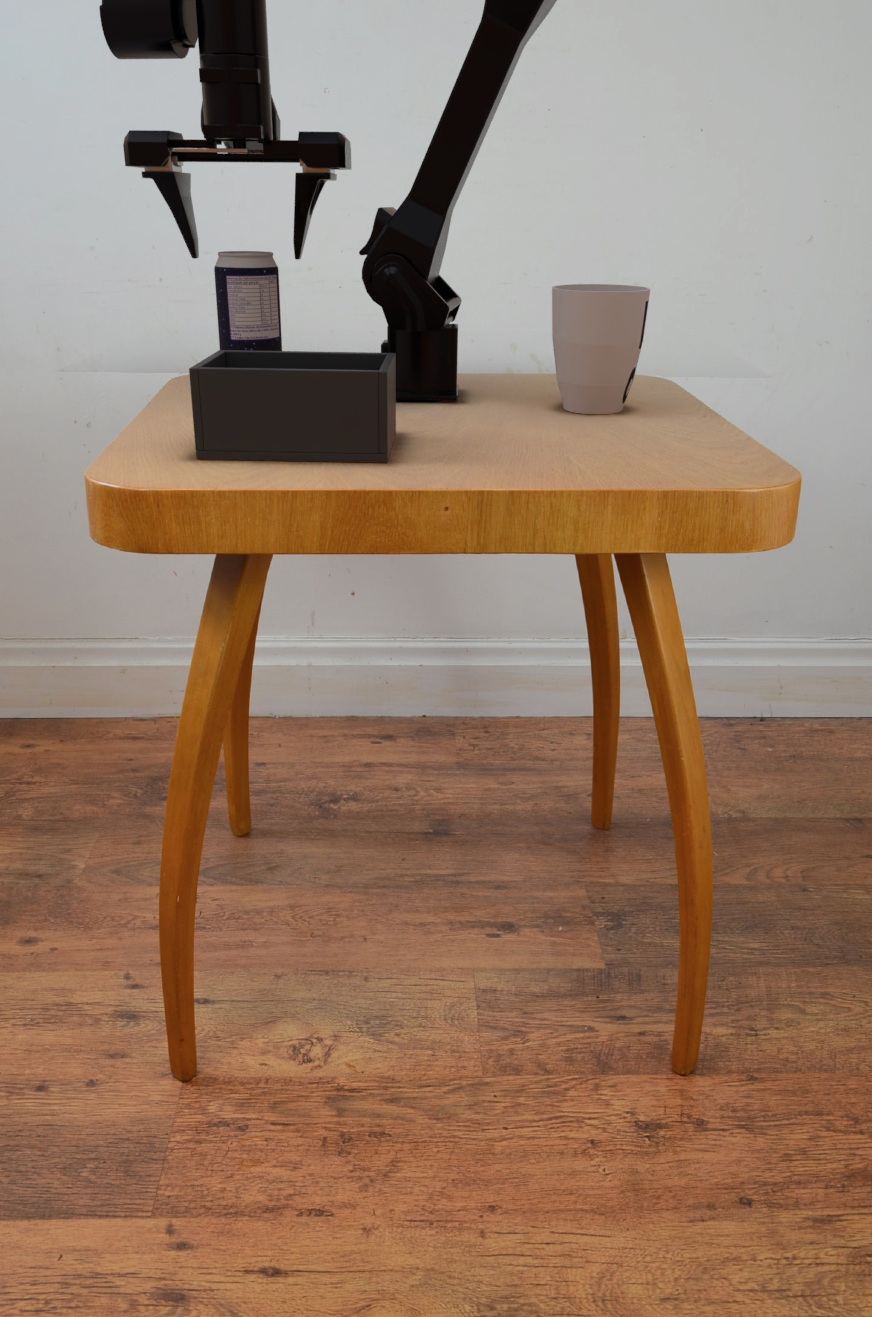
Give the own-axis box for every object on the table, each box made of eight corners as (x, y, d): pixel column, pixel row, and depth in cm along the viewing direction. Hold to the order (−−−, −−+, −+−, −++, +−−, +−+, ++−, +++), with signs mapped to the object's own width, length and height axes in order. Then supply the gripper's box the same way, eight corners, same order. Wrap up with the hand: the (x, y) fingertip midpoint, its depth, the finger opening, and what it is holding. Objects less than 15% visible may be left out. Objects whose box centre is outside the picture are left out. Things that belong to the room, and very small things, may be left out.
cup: (653, 416, 88) (664, 291, 84) (559, 418, 86) (567, 291, 82) (621, 399, 95) (631, 283, 91) (535, 401, 94) (541, 283, 90)
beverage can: (294, 386, 99) (288, 251, 94) (266, 396, 94) (258, 254, 89) (241, 382, 101) (233, 250, 96) (211, 391, 96) (200, 252, 91)
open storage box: (395, 434, 80) (395, 352, 77) (387, 462, 71) (387, 371, 69) (224, 431, 80) (218, 349, 77) (196, 459, 71) (188, 368, 69)
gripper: (355, 70, 94) (359, 255, 100) (149, 68, 94) (166, 253, 100) (342, 54, 84) (347, 261, 90) (111, 52, 84) (133, 259, 90)
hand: (246, 258), depth 93 cm, fingers open, 9 cm apart
